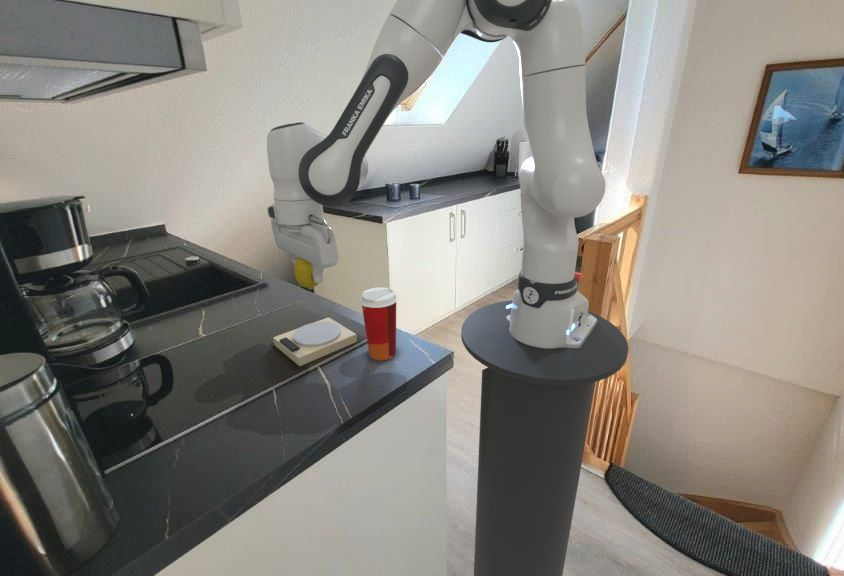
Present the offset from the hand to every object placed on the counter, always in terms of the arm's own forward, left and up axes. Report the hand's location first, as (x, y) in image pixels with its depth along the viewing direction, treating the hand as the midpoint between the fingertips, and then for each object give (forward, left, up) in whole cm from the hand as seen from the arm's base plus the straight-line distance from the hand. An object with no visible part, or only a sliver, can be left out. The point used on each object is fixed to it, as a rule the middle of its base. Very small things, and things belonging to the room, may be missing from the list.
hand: (309, 277), depth 85 cm
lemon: (0, 0, -3) cm, 3 cm away
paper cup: (-8, +14, -16) cm, 22 cm away
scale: (0, 0, -16) cm, 16 cm away
